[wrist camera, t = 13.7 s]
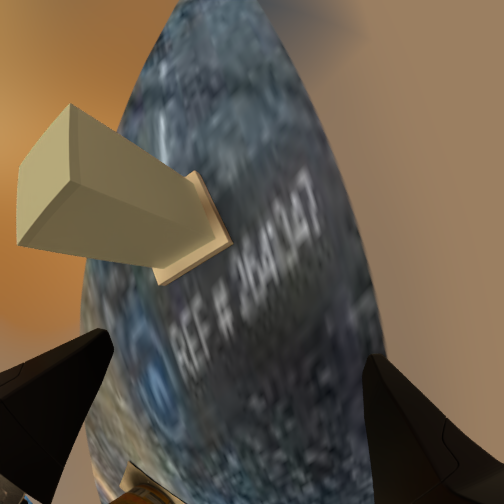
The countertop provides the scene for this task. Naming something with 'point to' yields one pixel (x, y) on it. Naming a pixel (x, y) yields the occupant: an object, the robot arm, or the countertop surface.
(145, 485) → the condiment
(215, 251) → the square plate with knob
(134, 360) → the countertop surface
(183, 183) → the tan rectangular pillar
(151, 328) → the countertop surface
